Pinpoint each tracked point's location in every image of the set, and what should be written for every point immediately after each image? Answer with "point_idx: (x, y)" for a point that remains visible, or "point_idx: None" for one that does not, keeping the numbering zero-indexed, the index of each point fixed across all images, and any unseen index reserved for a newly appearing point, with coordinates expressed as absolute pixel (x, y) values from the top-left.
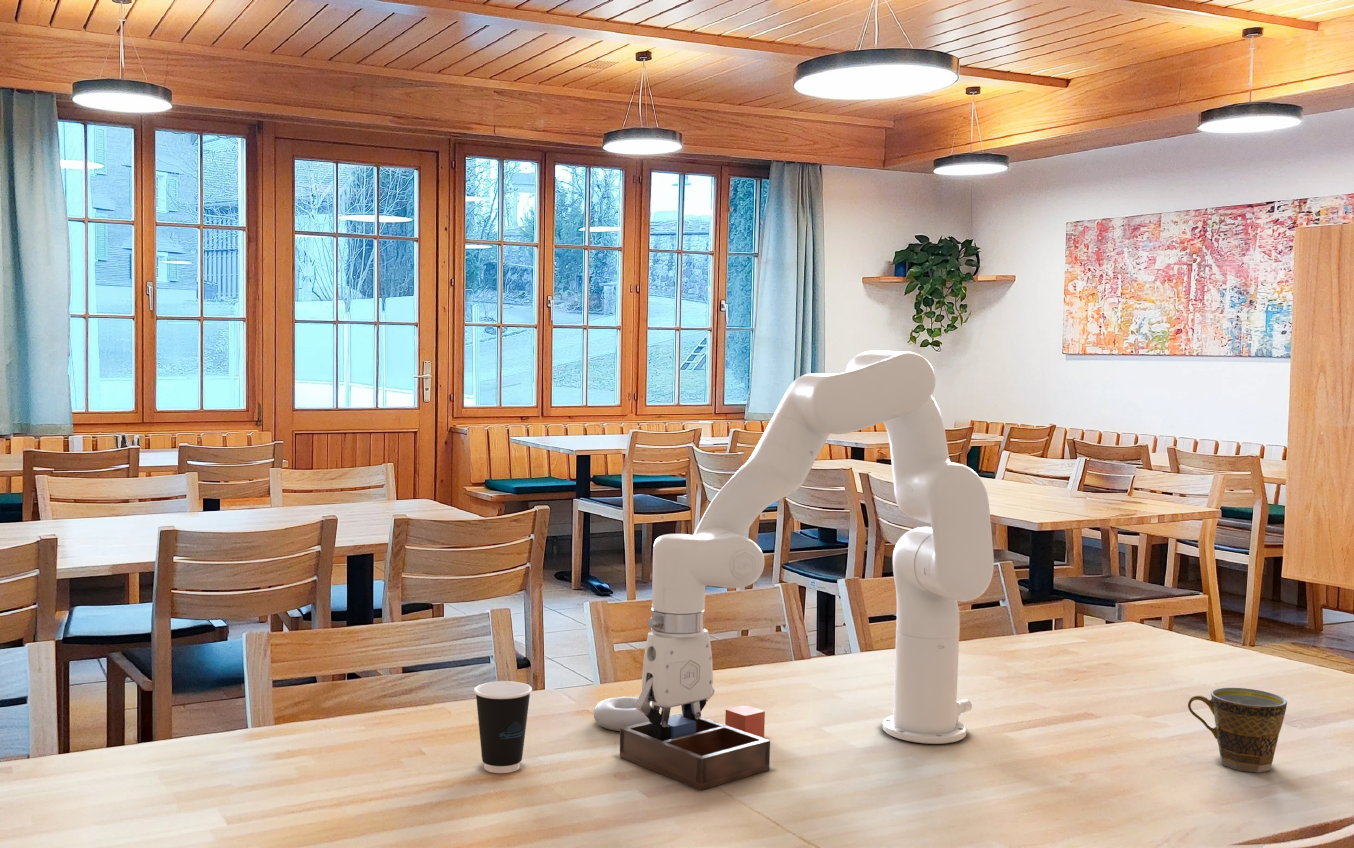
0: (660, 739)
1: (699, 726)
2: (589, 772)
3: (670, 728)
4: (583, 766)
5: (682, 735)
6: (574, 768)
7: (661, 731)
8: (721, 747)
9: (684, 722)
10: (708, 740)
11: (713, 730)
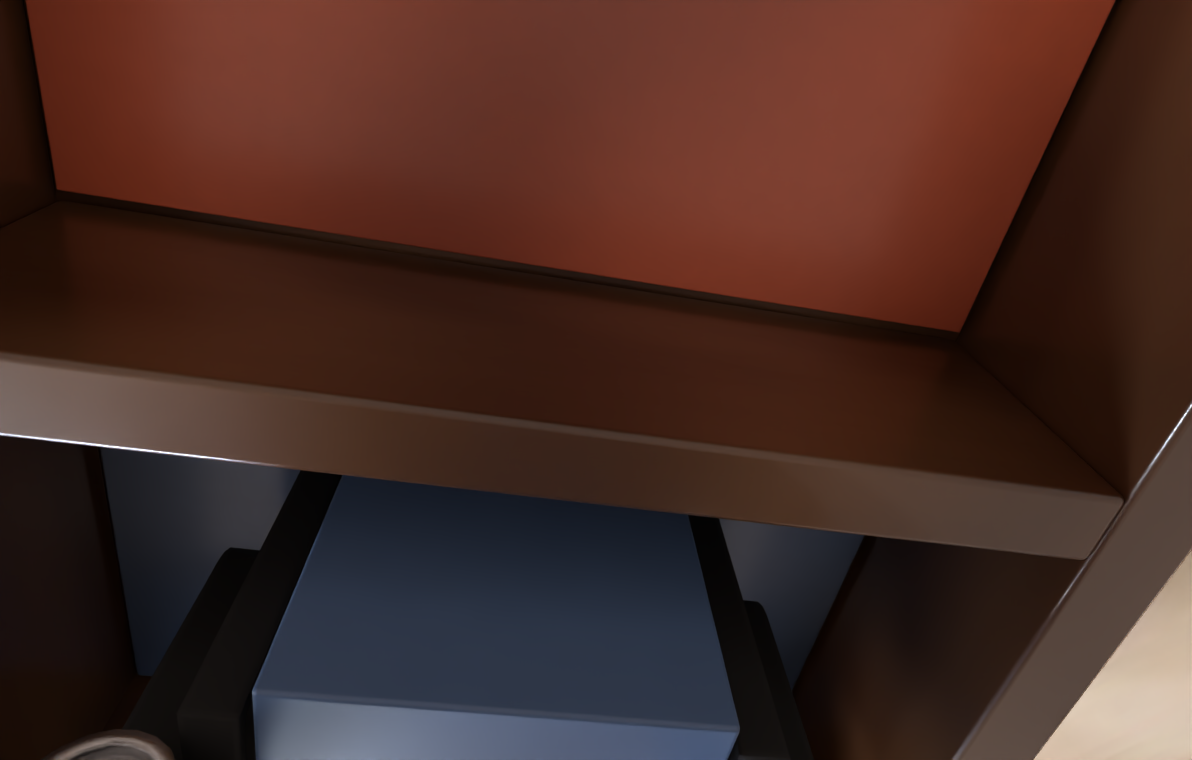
0: (777, 664)
1: (19, 680)
2: (1178, 666)
3: (741, 730)
4: (1079, 741)
5: (561, 580)
6: (1138, 749)
7: (794, 746)
8: (80, 219)
9: (449, 750)
10: (288, 315)
11: (106, 367)
